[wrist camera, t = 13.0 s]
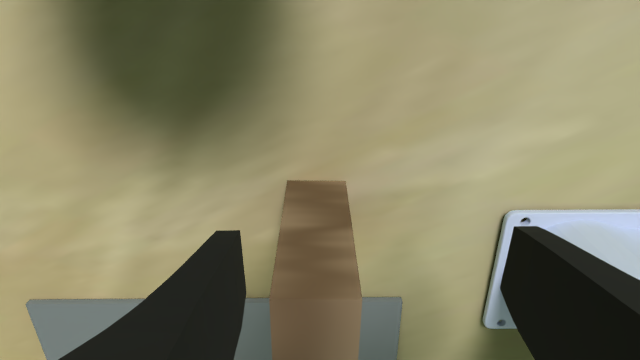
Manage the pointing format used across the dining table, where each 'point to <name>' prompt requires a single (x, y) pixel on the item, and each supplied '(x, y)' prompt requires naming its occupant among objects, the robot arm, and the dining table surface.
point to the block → (315, 276)
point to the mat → (254, 341)
